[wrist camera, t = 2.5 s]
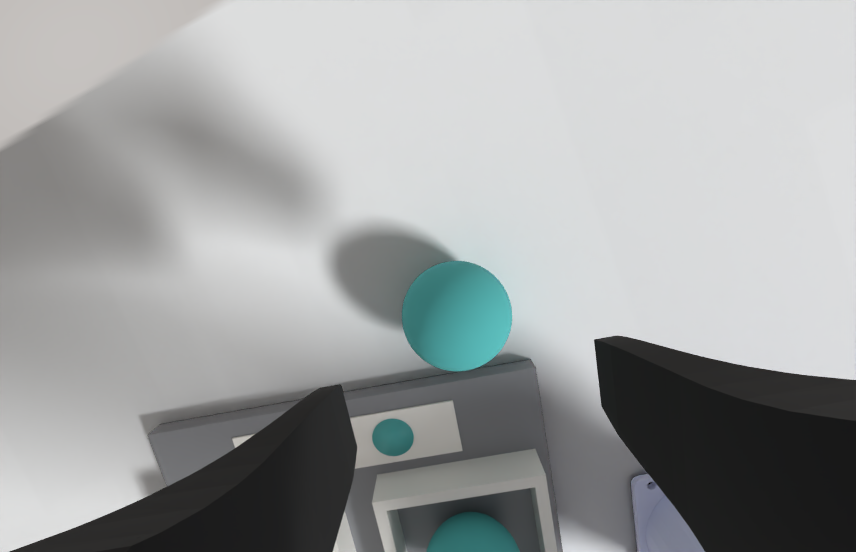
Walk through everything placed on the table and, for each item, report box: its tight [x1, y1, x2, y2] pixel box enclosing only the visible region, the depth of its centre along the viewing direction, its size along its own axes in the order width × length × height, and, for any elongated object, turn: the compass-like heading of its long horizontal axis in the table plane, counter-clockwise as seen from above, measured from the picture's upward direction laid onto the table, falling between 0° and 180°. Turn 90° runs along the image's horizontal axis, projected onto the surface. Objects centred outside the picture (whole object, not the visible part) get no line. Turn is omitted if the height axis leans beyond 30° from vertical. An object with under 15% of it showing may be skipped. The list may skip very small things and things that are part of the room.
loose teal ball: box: [402, 261, 512, 371], centre depth 18 cm, size 5×5×5 cm
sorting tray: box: [148, 359, 563, 552], centre depth 22 cm, size 21×14×3 cm, turn 101°
